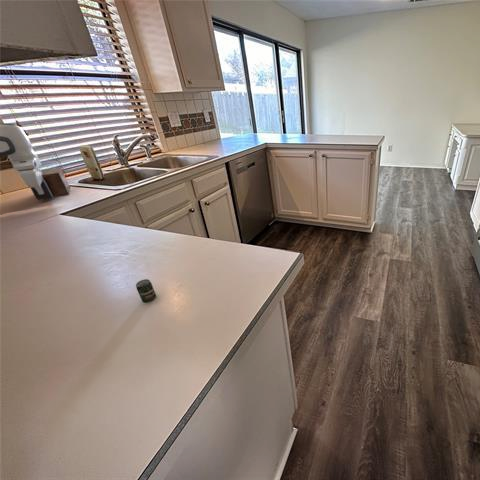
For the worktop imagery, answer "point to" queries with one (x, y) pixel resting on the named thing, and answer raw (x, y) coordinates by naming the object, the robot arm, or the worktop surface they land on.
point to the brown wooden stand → (56, 182)
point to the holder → (46, 190)
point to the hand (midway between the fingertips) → (42, 192)
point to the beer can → (145, 290)
